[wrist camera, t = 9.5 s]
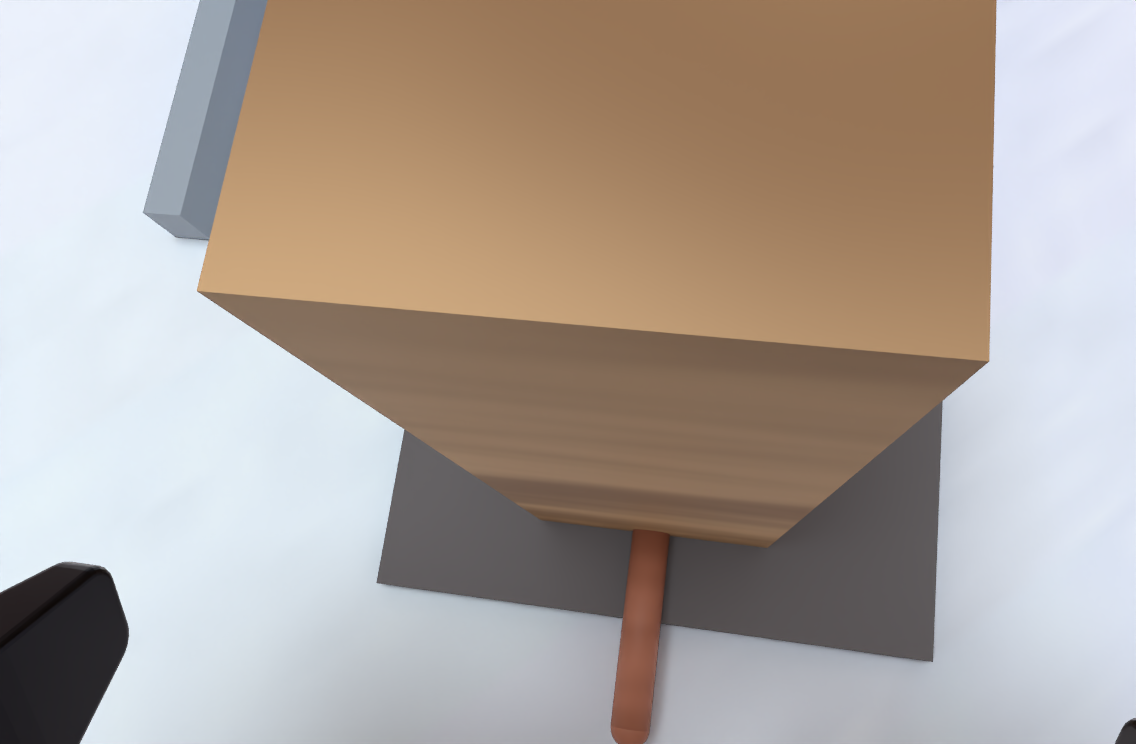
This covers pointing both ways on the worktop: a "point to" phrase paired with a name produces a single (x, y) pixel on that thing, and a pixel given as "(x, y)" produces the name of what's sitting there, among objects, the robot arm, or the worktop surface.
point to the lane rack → (204, 117)
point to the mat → (694, 555)
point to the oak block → (624, 246)
